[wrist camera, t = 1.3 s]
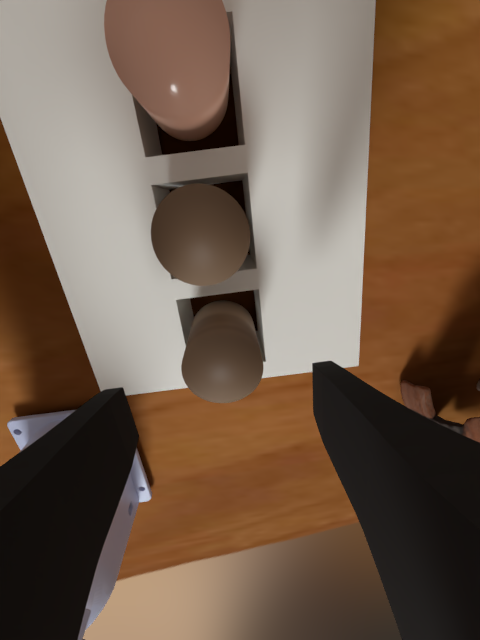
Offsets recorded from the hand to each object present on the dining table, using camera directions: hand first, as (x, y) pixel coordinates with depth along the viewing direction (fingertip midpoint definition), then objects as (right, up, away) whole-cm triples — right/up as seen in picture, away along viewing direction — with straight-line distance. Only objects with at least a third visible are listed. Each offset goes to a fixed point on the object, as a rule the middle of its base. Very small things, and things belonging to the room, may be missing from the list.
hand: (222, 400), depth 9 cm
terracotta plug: (-1, +11, +1) cm, 12 cm away
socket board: (-1, +8, +7) cm, 11 cm away
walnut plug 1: (-1, +7, +3) cm, 8 cm away
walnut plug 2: (0, +2, +5) cm, 6 cm away
